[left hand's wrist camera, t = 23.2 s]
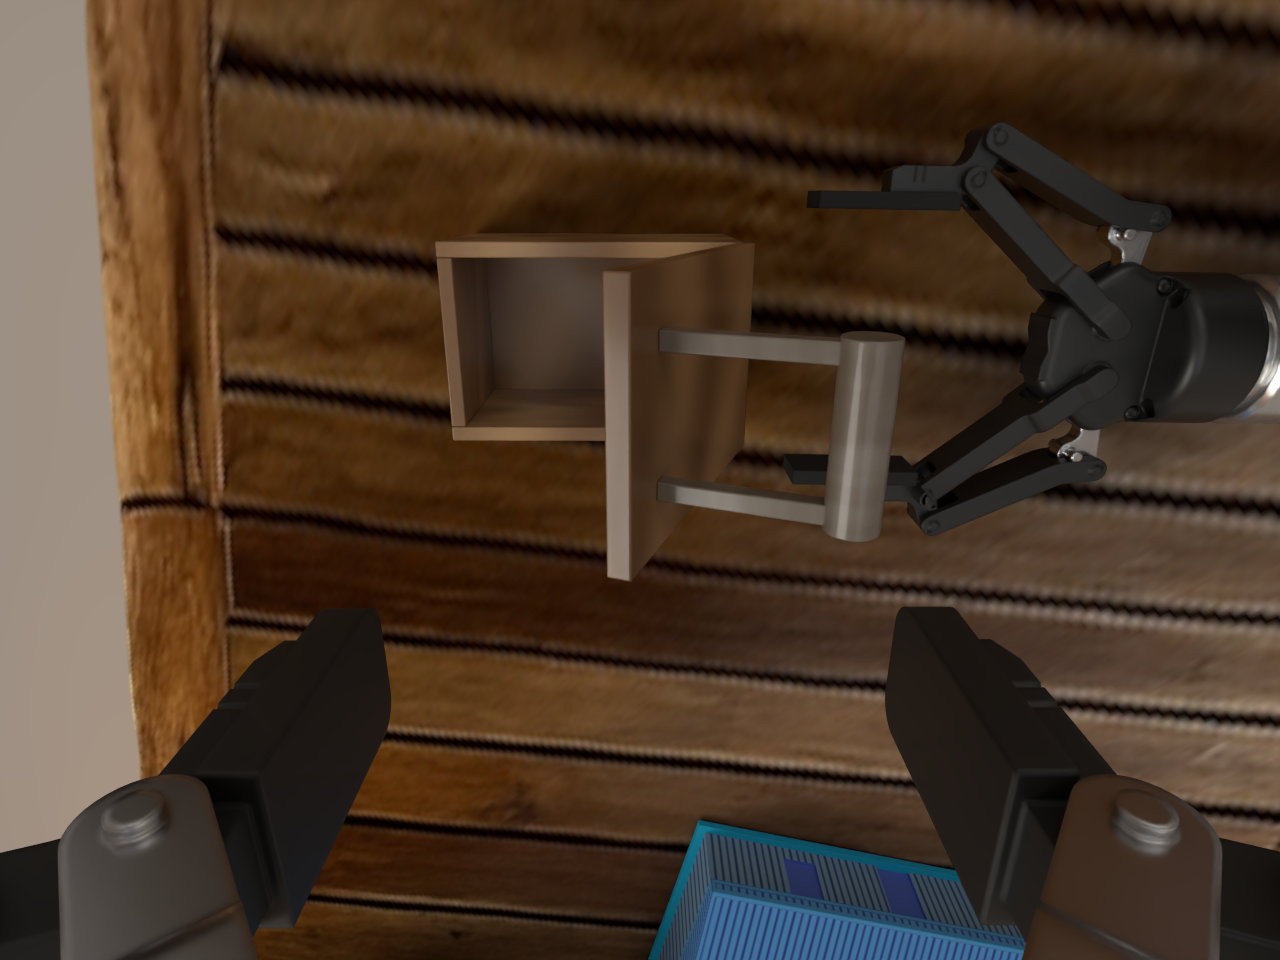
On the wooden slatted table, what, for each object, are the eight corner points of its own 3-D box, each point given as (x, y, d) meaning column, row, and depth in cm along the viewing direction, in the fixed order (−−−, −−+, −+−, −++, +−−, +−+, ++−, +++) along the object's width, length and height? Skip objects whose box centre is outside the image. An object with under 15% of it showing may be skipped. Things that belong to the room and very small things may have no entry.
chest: (486, 397, 45) (452, 440, 37) (474, 233, 42) (434, 241, 34) (718, 398, 45) (734, 441, 37) (724, 233, 42) (744, 242, 34)
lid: (606, 577, 24) (865, 627, 21) (601, 270, 20) (909, 281, 18) (727, 443, 37) (896, 463, 34) (736, 242, 33) (925, 246, 31)
